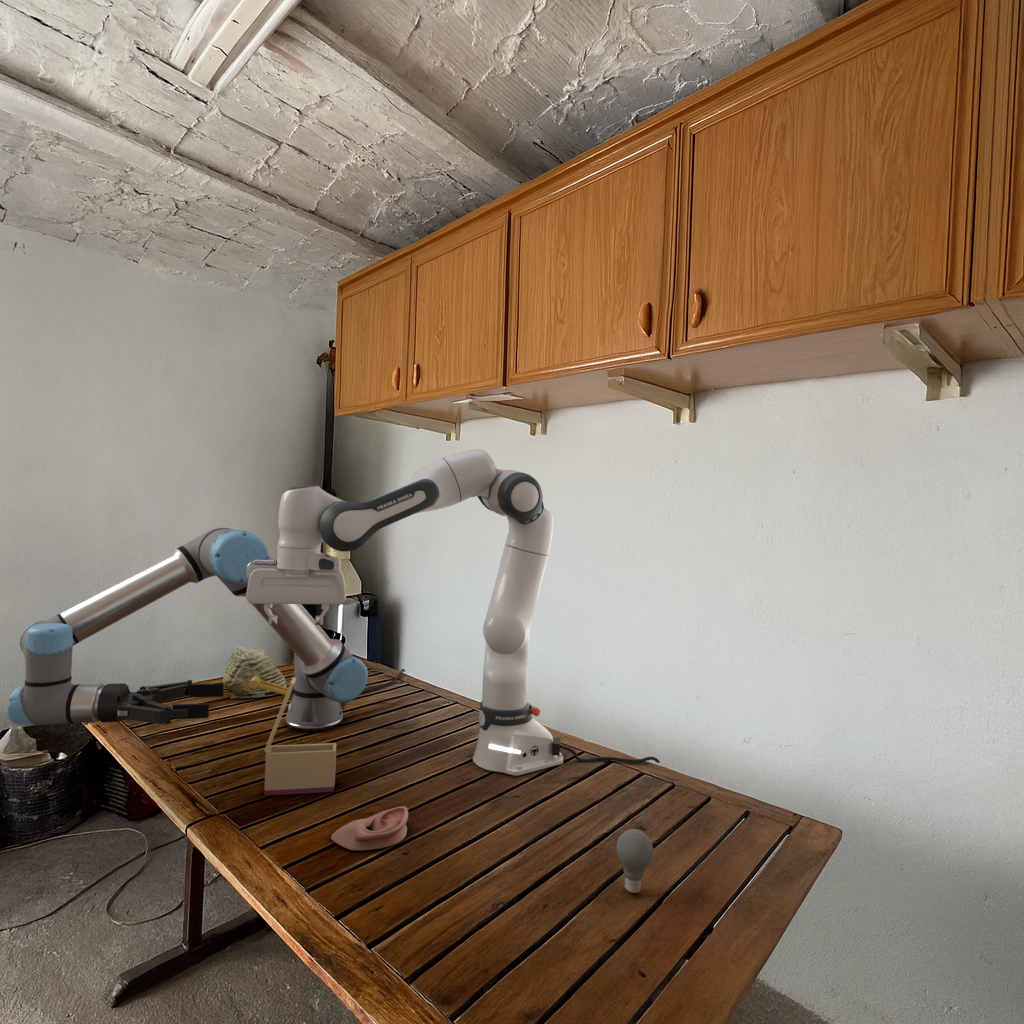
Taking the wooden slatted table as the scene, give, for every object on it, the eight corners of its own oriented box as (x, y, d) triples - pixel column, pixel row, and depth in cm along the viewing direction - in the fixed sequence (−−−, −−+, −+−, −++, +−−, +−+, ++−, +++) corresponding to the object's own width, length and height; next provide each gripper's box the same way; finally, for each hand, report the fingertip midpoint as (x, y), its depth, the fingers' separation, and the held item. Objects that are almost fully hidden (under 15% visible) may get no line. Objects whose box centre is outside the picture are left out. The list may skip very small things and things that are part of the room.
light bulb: (610, 879, 108) (613, 822, 108) (644, 879, 109) (647, 822, 109) (619, 902, 102) (622, 840, 102) (655, 901, 103) (658, 840, 103)
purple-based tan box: (335, 782, 141) (336, 742, 141) (333, 791, 136) (335, 751, 136) (267, 785, 138) (269, 745, 137) (264, 795, 133) (265, 754, 133)
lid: (296, 678, 138) (257, 666, 136) (294, 684, 134) (253, 671, 132) (271, 744, 138) (230, 733, 136) (267, 752, 133) (226, 741, 131)
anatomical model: (323, 824, 115) (352, 795, 126) (322, 845, 115) (351, 815, 126) (392, 835, 112) (415, 805, 123) (391, 857, 112) (414, 825, 123)
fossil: (218, 695, 195) (220, 647, 195) (278, 685, 208) (279, 640, 207) (228, 703, 189) (230, 653, 188) (289, 692, 201) (290, 645, 201)
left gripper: (124, 701, 140) (228, 698, 145) (74, 745, 116) (200, 740, 120) (125, 667, 140) (229, 666, 145) (75, 704, 115) (202, 700, 120)
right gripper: (244, 560, 130) (241, 627, 130) (346, 562, 135) (344, 627, 135) (249, 557, 136) (247, 621, 137) (347, 559, 141) (345, 621, 141)
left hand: (216, 699), depth 133 cm, fingers open, 13 cm apart
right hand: (296, 624), depth 136 cm, fingers open, 8 cm apart
